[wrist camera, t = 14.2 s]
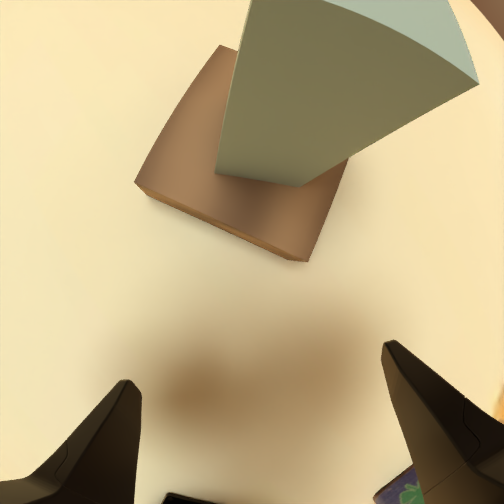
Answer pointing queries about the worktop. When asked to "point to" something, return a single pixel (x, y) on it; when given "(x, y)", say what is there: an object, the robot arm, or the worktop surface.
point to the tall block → (335, 81)
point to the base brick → (231, 187)
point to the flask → (401, 490)
